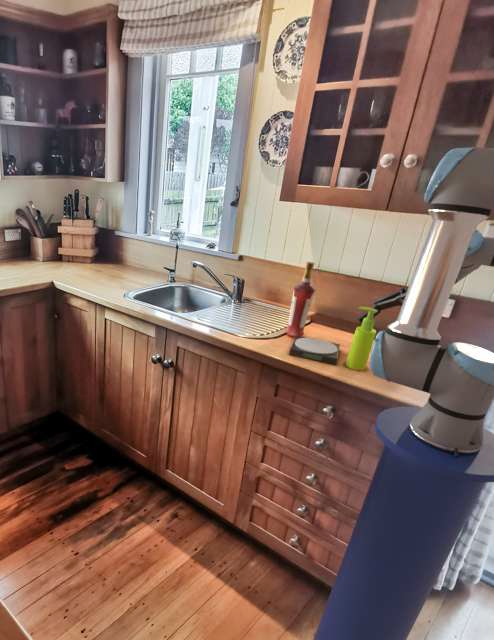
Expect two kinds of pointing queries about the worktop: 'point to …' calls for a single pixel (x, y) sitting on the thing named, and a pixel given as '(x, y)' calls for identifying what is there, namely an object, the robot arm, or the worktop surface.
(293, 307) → the liquor
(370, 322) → the soap dispenser
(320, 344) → the kitchen scale
